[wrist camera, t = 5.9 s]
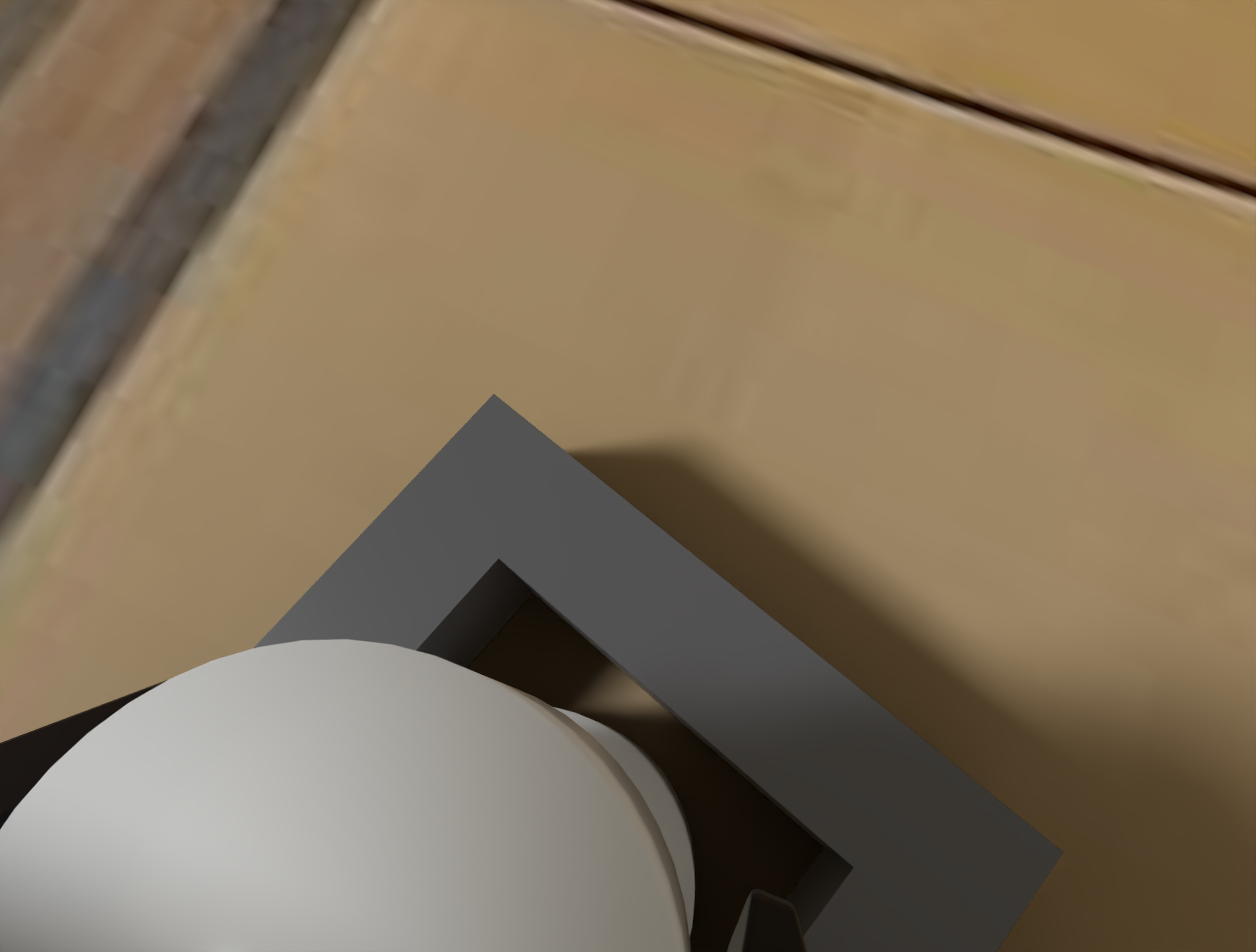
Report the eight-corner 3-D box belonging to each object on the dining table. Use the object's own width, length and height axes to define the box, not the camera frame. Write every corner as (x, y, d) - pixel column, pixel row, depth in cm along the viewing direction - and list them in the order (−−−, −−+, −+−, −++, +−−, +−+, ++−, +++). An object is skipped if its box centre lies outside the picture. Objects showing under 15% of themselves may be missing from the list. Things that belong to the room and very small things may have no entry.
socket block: (992, 835, 15) (1063, 852, 12) (567, 1441, 13) (530, 1637, 10) (526, 453, 18) (493, 393, 15) (116, 900, 15) (-14, 931, 13)
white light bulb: (757, 852, 15) (860, 1007, 5) (554, 1118, 14) (251, 1870, 4) (535, 653, 16) (308, 501, 7) (336, 883, 15) (-251, 1080, 6)
